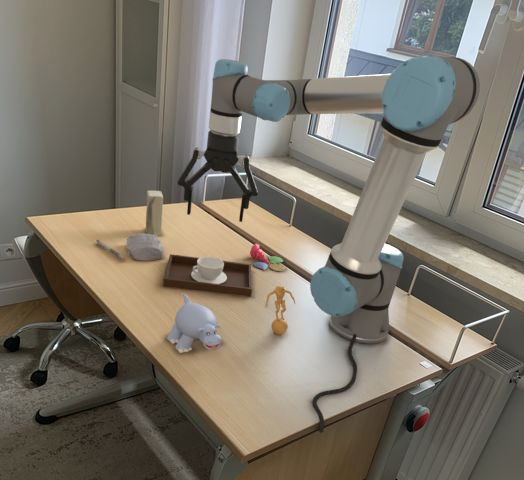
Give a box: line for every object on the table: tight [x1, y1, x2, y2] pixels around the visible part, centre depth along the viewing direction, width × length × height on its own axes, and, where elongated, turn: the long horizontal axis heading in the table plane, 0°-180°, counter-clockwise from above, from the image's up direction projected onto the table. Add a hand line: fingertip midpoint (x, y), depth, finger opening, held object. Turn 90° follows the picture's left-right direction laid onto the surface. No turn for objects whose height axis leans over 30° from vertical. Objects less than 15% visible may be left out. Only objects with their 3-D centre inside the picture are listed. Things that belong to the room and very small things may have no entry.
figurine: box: [264, 285, 296, 335], centre depth 132 cm, size 8×6×12 cm
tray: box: [162, 253, 253, 298], centre depth 153 cm, size 16×24×2 cm, turn 92°
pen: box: [95, 239, 125, 260], centre depth 157 cm, size 1×14×1 cm, turn 46°
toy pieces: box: [249, 243, 286, 272], centre depth 166 cm, size 12×11×4 cm
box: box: [145, 190, 164, 236], centre depth 170 cm, size 5×4×13 cm
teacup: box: [191, 255, 227, 284], centre depth 152 cm, size 10×10×5 cm
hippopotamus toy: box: [166, 293, 222, 354], centre depth 123 cm, size 11×15×10 cm
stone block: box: [126, 232, 164, 262], centre depth 160 cm, size 12×5×10 cm
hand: (214, 216), depth 143 cm, fingers open, 13 cm apart
